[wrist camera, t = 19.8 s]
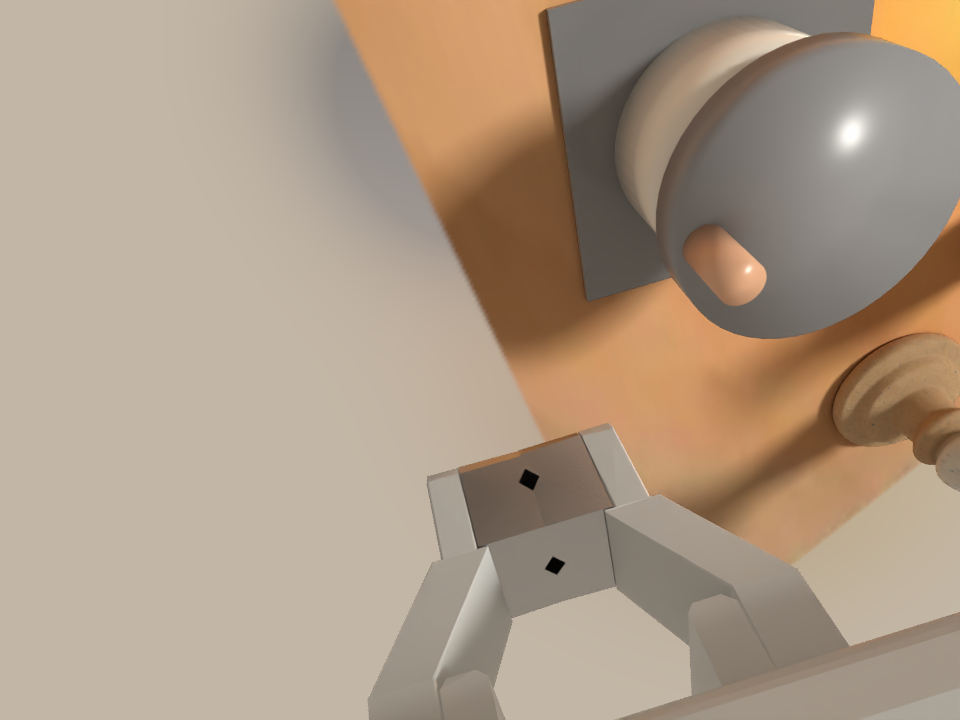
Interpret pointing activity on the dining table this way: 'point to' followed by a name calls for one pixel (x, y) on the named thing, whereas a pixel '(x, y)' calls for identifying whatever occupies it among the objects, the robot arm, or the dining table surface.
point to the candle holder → (907, 401)
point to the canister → (654, 105)
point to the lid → (811, 184)
